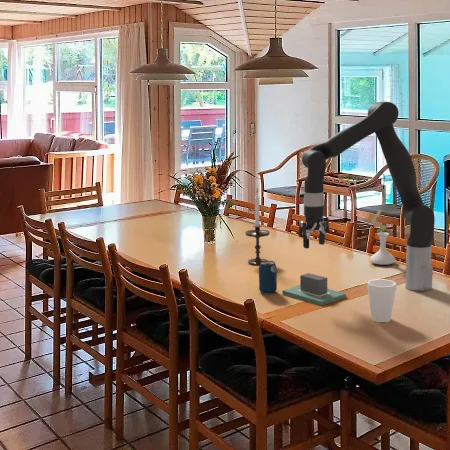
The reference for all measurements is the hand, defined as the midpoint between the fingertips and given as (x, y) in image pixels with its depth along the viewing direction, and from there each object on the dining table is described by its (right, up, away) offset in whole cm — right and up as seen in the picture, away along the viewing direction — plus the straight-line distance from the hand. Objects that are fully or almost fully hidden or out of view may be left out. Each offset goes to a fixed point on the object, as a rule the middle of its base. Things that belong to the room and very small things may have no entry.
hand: (314, 246), depth 256 cm
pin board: (0, -19, +4) cm, 20 cm away
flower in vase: (+36, -10, +47) cm, 60 cm away
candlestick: (-19, -10, +54) cm, 58 cm away
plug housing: (0, -18, +4) cm, 18 cm away
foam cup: (+20, -25, -24) cm, 39 cm away
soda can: (-17, -19, +10) cm, 27 cm away
